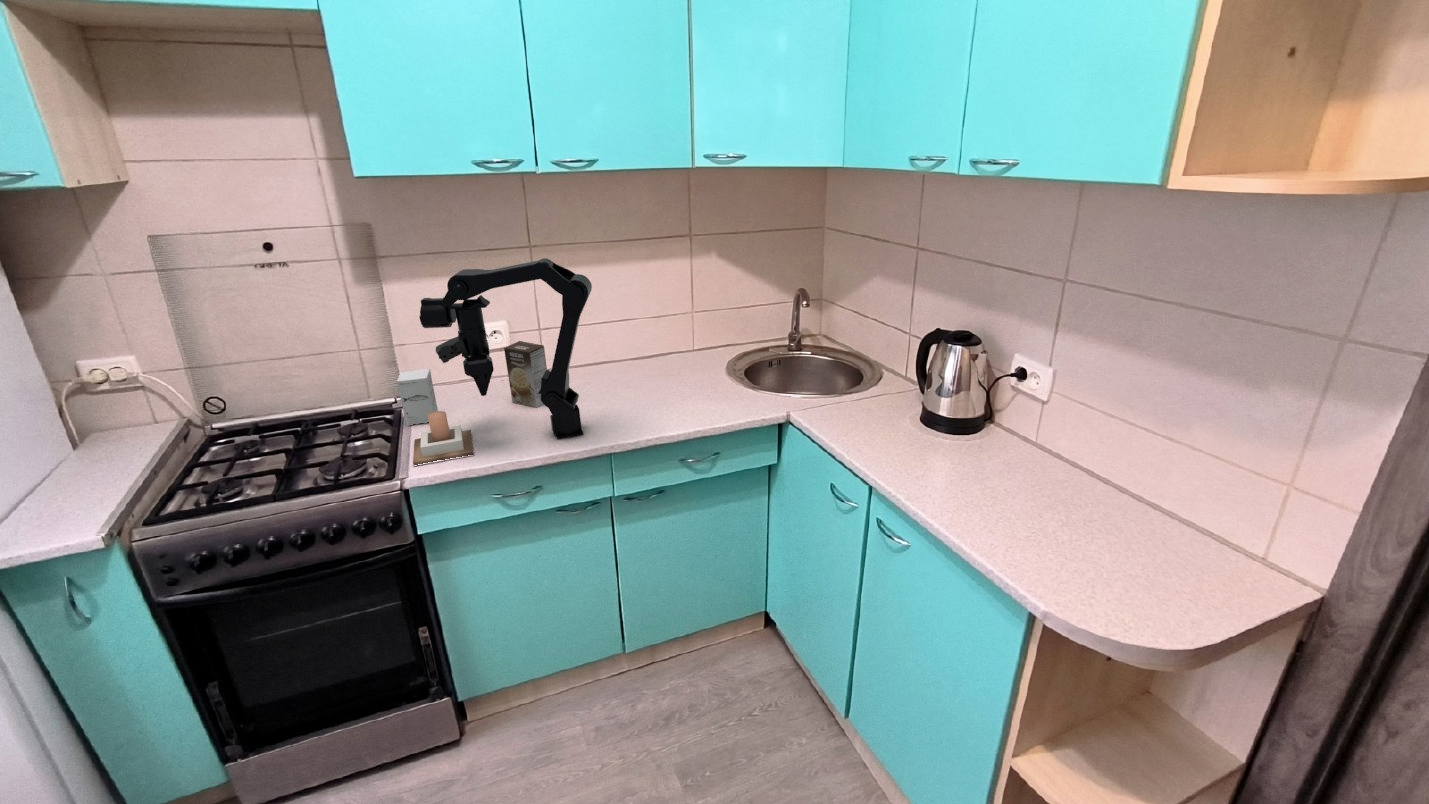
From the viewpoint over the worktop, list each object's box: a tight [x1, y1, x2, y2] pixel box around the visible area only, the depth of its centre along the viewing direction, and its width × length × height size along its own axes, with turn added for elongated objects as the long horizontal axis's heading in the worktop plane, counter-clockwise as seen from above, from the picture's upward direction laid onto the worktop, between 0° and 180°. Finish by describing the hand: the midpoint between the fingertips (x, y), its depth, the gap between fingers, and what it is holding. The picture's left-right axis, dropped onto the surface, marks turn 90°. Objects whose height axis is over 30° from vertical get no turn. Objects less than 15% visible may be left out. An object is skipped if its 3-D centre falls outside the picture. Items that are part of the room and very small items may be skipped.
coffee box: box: [503, 340, 548, 408], centre depth 182 cm, size 9×6×16 cm
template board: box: [412, 424, 475, 466], centre depth 159 cm, size 13×13×4 cm
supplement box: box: [396, 368, 439, 427], centre depth 174 cm, size 7×7×13 cm
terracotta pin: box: [428, 410, 451, 443], centre depth 158 cm, size 4×4×8 cm
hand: (482, 388), depth 161 cm, fingers open, 9 cm apart
